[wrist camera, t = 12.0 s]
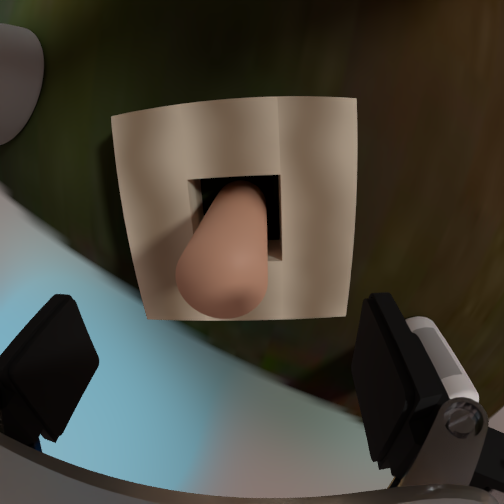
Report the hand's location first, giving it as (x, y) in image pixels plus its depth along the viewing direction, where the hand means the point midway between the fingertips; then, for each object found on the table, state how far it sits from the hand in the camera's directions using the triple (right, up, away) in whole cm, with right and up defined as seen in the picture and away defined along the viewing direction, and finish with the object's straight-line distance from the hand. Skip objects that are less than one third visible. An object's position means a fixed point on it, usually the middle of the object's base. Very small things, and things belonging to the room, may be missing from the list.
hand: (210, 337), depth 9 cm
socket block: (0, +6, +15) cm, 16 cm away
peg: (0, +6, +15) cm, 16 cm away
